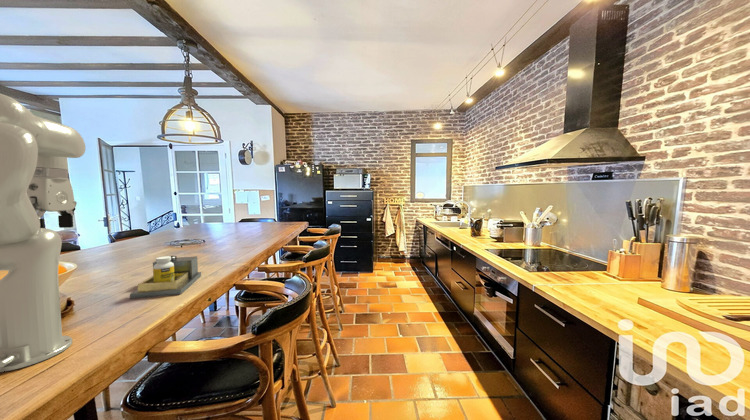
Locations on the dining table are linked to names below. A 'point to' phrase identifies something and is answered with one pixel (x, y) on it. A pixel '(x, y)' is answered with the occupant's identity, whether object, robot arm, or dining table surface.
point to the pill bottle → (163, 269)
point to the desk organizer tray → (183, 279)
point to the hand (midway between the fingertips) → (52, 229)
